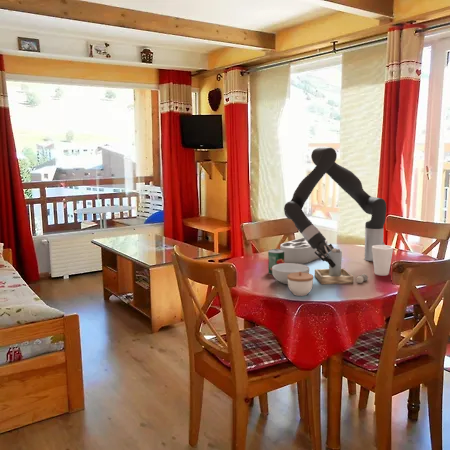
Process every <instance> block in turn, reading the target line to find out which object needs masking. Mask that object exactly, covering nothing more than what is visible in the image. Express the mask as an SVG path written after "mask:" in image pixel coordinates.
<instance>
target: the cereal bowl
mask: <svg viewBox="0 0 450 450" xmlns="http://www.w3.org/2000/svg"><path fill="white" fill-rule="evenodd" d="M297 272H302V273H309V274H310V267H309V266H308V265H305V264H303V263H302V264H295V263H285V262H284V263H282V264H277V265H274V266H273V267H272V274H273V275H272V274H271V275H272V276H273V277H274V279H276V280H277V281H278V282H280V283H281V284H284V285H288V278H287V275H288V274H290V273H297Z"/></svg>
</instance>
